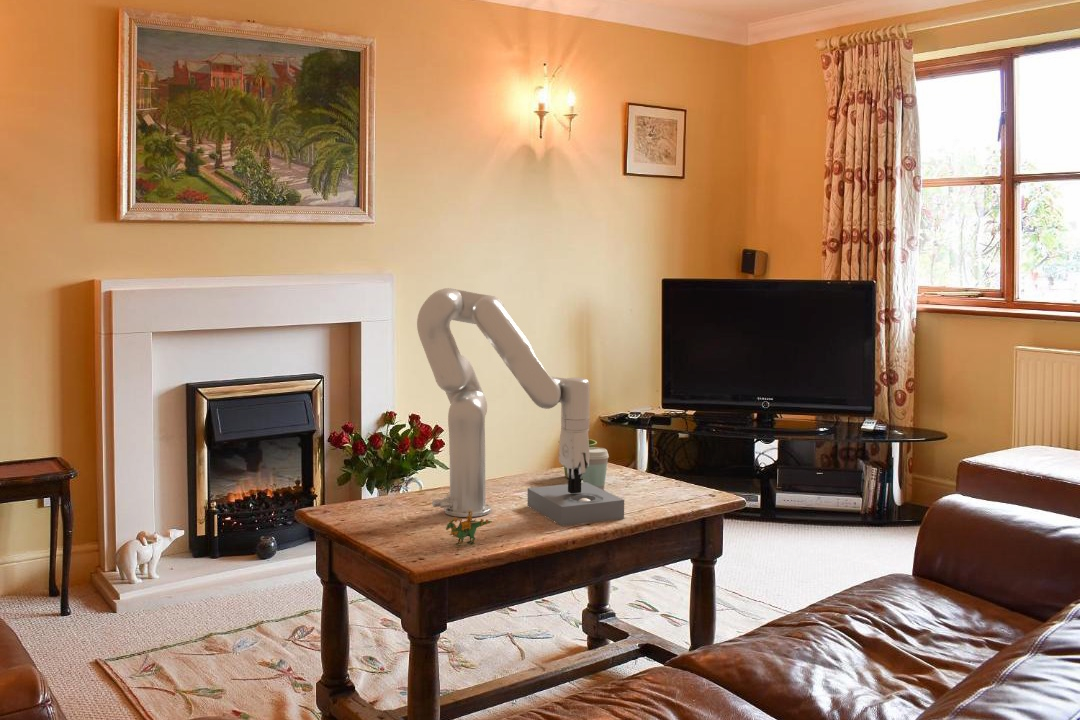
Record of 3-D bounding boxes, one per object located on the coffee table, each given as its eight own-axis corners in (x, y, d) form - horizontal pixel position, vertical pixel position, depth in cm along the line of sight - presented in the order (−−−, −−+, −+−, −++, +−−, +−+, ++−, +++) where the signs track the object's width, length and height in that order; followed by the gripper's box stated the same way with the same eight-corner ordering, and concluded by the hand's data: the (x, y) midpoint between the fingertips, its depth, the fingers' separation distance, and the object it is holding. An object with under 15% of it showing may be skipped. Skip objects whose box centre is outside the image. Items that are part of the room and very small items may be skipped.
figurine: (443, 545, 240) (443, 512, 239) (489, 539, 245) (489, 506, 244) (448, 549, 237) (448, 515, 236) (494, 542, 242) (494, 509, 242)
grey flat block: (561, 526, 256) (561, 506, 256) (527, 506, 276) (527, 488, 276) (624, 518, 264) (624, 499, 263) (586, 499, 284) (586, 482, 283)
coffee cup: (609, 487, 299) (609, 447, 297) (608, 494, 290) (608, 453, 289) (580, 486, 299) (580, 446, 298) (578, 493, 291) (578, 452, 290)
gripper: (551, 421, 273) (550, 487, 275) (574, 430, 259) (573, 500, 261) (576, 419, 276) (575, 485, 278) (600, 428, 262) (599, 497, 264)
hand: (574, 492), depth 269 cm, fingers closed
